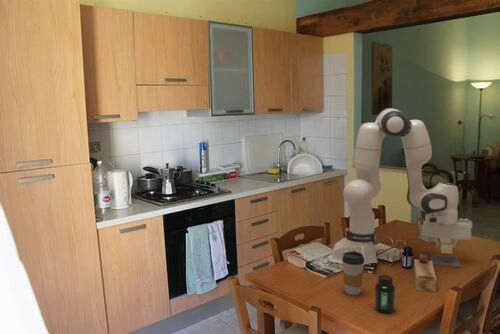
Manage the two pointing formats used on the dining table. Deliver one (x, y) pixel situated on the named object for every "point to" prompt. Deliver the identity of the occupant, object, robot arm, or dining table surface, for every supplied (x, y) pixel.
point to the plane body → (424, 274)
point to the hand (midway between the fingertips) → (445, 247)
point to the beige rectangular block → (445, 245)
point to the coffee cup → (353, 272)
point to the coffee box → (420, 224)
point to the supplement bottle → (385, 294)
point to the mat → (444, 260)
